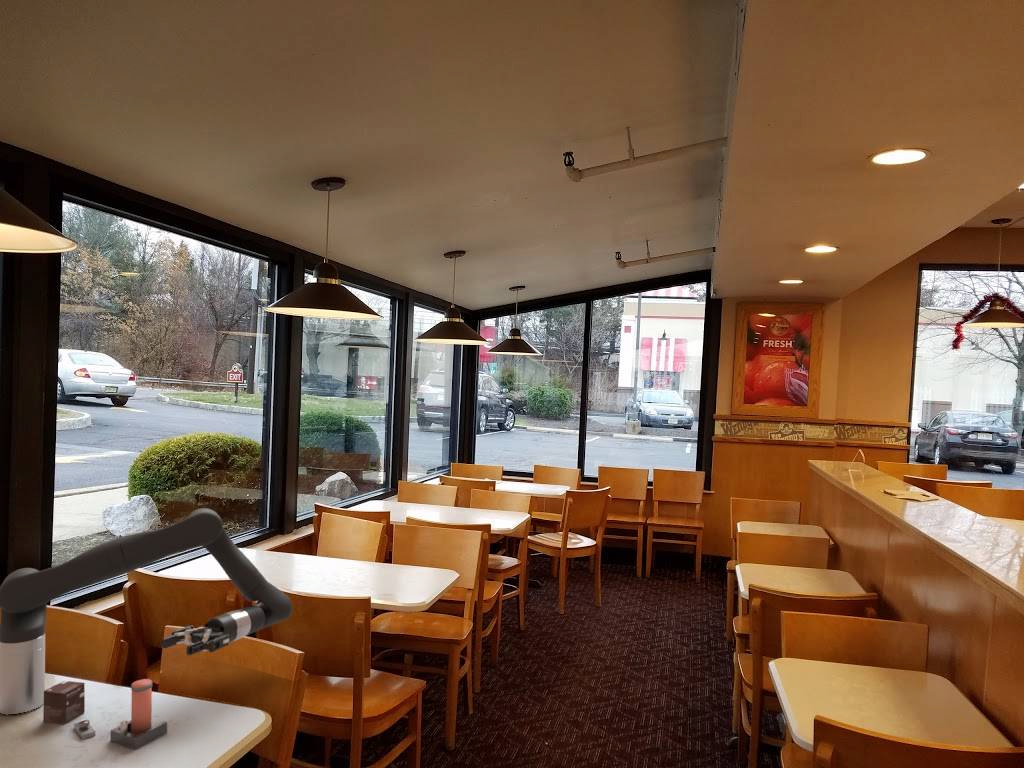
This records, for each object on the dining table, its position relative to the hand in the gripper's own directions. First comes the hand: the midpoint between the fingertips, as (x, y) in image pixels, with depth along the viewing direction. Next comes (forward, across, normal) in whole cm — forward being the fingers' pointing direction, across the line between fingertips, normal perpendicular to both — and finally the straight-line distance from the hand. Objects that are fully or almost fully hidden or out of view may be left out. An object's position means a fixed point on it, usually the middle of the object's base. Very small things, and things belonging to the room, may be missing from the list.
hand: (175, 647), depth 165 cm
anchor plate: (+14, -11, +17) cm, 24 cm away
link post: (+10, +2, +16) cm, 19 cm away
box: (+12, -22, +17) cm, 30 cm away
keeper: (+10, +2, +16) cm, 19 cm away
